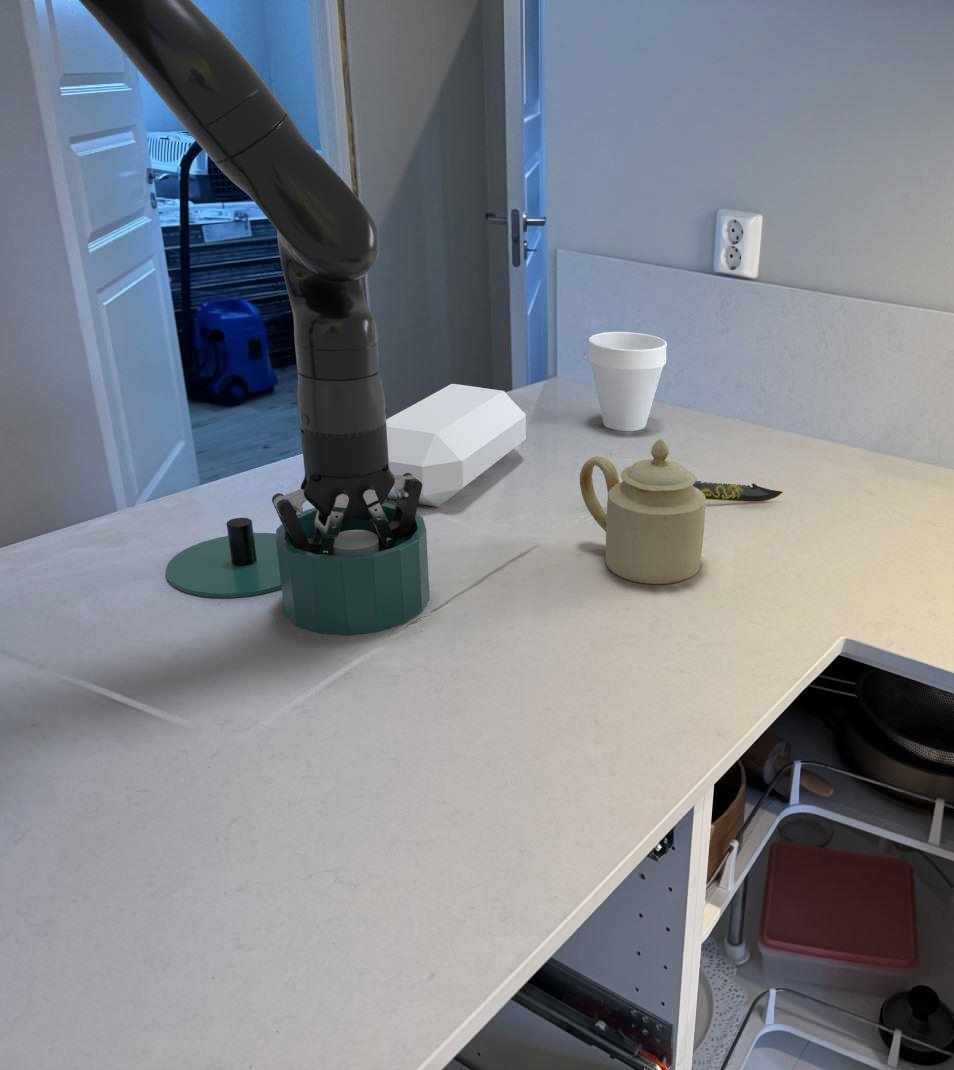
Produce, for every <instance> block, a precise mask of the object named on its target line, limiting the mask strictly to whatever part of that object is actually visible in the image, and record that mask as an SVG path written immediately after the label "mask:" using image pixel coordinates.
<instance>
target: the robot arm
mask: <svg viewBox="0 0 954 1070" xmlns="http://www.w3.org/2000/svg"><path fill="white" fill-rule="evenodd" d="M78 1H79V3H80V4H81V5H82V6H83V7H84V8H85V9H86V10H87V11H88V12H89V14H91V16H92V17H93V18H94V19H95V20H96V21H97V22H98V24H99V25H100V26H101V27H102V28H103V30H104V31H105V32H106V33H107V34H108V36H110V38H111V39H112V40H113V41H114V42H115V44H116V45H117V46H118V48H120V50H121V51H122V52H123V53H124V55H125V56H126V57H127V58H128V60H129V61H130V62H131V63H132V64H133V66H134V67H135V68H136V69H137V70H138V72H139V73H140V74H141V76H142V77H143V78H144V80H146V82H147V83H148V84H149V86H150V87H151V88H152V89H153V90H154V92H155V93H156V94H157V96H158V97H159V98H160V99H161V100H162V102H163V103H164V104H165V106H167V108H168V109H169V110H170V112H171V113H172V114H173V115H174V117H176V119H177V120H178V121H179V122H180V124H181V126H183V127H184V128H185V129H186V131H187V132H188V134H190V136H191V137H192V138H193V139H194V140H195V142H196V143H197V145H199V146H200V148H201V149H202V150H203V151H204V152H205V153H206V155H207V156H208V157H209V158H210V160H211V161H212V162H214V164H215V165H216V167H217V168H218V169H219V170H220V171H221V172H222V174H224V175H225V176H226V177H227V178H228V179H229V180H230V181H231V182H232V183H233V184H234V185H235V186H237V187H238V188H239V189H240V190H242V191H243V192H244V193H245V194H246V195H248V197H250V198H251V200H252V201H253V202H254V203H255V205H256V206H257V207H258V209H259V210H260V211H261V213H262V214H263V215H264V216H265V217H266V218H267V220H268V221H269V222H270V223H271V225H272V226H273V227H274V229H275V230H276V234H277V235H276V236H277V245H278V252H279V258H280V265H281V268H282V273H283V278H284V282H285V286H286V287H285V288H286V291H287V295H288V298H289V301H290V303H289V304H290V306H291V307H290V308H291V311H292V318H293V337H294V350H295V360H296V369H297V393H296V397H297V410H298V418H299V429H300V439H301V449H302V456H303V457H302V459H303V460H302V461H303V469H304V476H303V480H302V482H301V484H300V488H299V489H296V490H294V491H292V492H289V493H287V494H283V493H280V492H279V493H275V494H274V495H272V497H271V502H272V505H273V507H274V509H275V511H276V514H277V516H278V518H279V520H280V522H281V524H282V525H283V527H284V529H285V531H286V533H287V536H288V538H289V540H290V542H291V544H292V546H294V547H295V548H297V549H300V550H304V551H307V552H310V553H314V554H320V555H331V553H332V549H333V546H334V542H335V538H336V537H338V535H339V531H340V528H341V524H346V523H349V522H351V521H353V520H368V521H369V523H370V526H371V528H372V530H373V532H374V533H375V534H376V535H377V536H378V539H379V551H383V550H387V549H390V548H394V543H395V541H396V540H397V539H399V538H401V537H408V536H409V535H411V533H412V530H413V525H414V521H415V516H416V514H417V512H418V508H419V504H418V503H419V499H420V494H421V490H422V483H421V482H420V481H419V480H418V479H417V478H415V477H414V476H413V475H412V474H411V473H405V474H403V476H400V475H393V474H392V473H391V471H390V469H389V459H388V443H387V427H386V419H387V414H388V409H387V404H386V397H385V389H384V386H383V381H382V376H381V365H380V351H379V336H378V329H377V323H376V319H375V315H374V314H373V312H372V310H371V309H370V307H369V305H368V303H367V300H366V297H365V290H364V289H365V288H364V282H363V277H364V276H366V275H367V274H368V273H369V272H370V271H371V270H372V269H373V268H374V267H375V265H376V263H377V262H378V259H379V256H380V250H381V239H380V232H379V229H378V227H377V224H376V222H375V220H374V218H373V217H372V215H371V213H370V212H369V210H368V209H367V207H366V206H365V205H364V203H363V202H362V201H361V199H360V198H359V197H358V196H357V195H356V193H354V191H353V190H352V189H351V188H350V186H349V185H348V184H347V183H346V182H345V181H344V180H343V179H342V178H341V176H340V175H339V174H338V173H337V172H336V171H335V170H334V168H332V166H330V165H329V163H328V162H327V161H326V160H325V158H323V157H322V156H321V154H319V153H318V152H317V150H315V148H314V147H313V146H312V145H311V144H310V143H309V141H308V140H307V139H306V138H305V136H304V135H303V134H302V131H300V128H299V127H298V126H297V125H296V123H295V122H294V120H293V119H292V117H291V116H290V114H289V113H288V112H287V111H286V108H285V107H284V106H283V105H282V103H281V102H280V101H279V99H278V98H277V97H276V96H275V94H274V93H273V92H272V91H271V89H270V88H269V87H268V85H267V83H266V82H265V81H264V80H263V79H262V77H261V76H260V74H259V73H258V72H257V70H256V69H255V67H253V65H252V64H251V63H250V62H249V61H248V59H247V58H246V57H245V56H244V54H243V53H242V52H241V51H240V50H239V48H238V47H236V46H235V44H234V43H233V42H232V41H231V40H230V38H228V37H227V36H226V35H225V33H224V32H223V31H222V30H221V29H220V28H219V27H218V26H217V25H216V24H215V23H214V22H213V21H212V20H211V19H210V18H209V17H208V16H207V14H206V13H204V12H203V10H202V9H200V8H199V7H198V6H197V5H196V4H195V3H194V1H192V0H78ZM393 486H394V492H395V494H396V495H398V496H397V500H395V501H396V502H395V504H394V505H395V509H394V514H393V519H392V523H390V524H389V523H388V520H387V518H386V516H385V514H384V512H383V509H382V507H381V505H382V504H383V503H385V500H386V497H387V496H388V494H389V492H390V491H391V489H392V488H393ZM306 501H307V502H308V503H310V504H311V506H313V508H316V509H317V514H316V518H315V530H314V534H313V537H312V539H309V538H307V537H306V535H305V533H304V531H303V528H302V526H301V524H300V522H299V519H298V516H300V515H301V514H302V512H303V511H304V509H303V505H304V503H305V502H306Z"/></svg>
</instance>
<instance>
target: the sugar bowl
mask: <svg viewBox="0 0 954 1070" xmlns="http://www.w3.org/2000/svg"><path fill="white" fill-rule="evenodd" d="M669 453H670V449H669V447H668V444H667V442H666V441H664V439H662V438H660V439H657V440H656V441H655V442H654V444H653V445H652V447H651V450H650V454H651V456H652V458H649V459H648V458H647V459H642V460H639V461H636V462H634V463H633V464H632V465H629V466H627V467H625V468H624V469H623V470H621V472H620V479H622V481H621V482H620V479H619V474H618V471H617V468H616V466H615V464H614V463H613V462H612V461H611V460H610V459H609V458H607V457H604V456H599V455H598V456H593V457H591V458H589V459H588V460H587V461H585V462H584V464H583V466H582V467H581V470H580V473H579V487H580V492H581V497H582V500H583V502H584V505H585V506H586V508H587V510H588V512H589V514H590V515H591V517H592V518H593V519H594V521H595V522H596V523H597V524H598V525H599V526H600V527H601V528H602V530H603V531H604V532H605V564H606V566H607V569H609V571H610V572H612V573H613V574H615V575H616V576H617V577H620V578H622V579H624V580H627V581H631V582H634V583H640V584H648V585H667V584H674V583H679V582H682V581H685V580H688V579H690V578H692V577H693V576H696V574H697V573H698V572H699V570H700V567H701V562H702V561H701V560H702V554H703V553H702V552H703V543H704V536H705V535H704V534H705V523H706V509H707V508H706V507H707V500H706V497H705V495H704V494H703V493H702V491H700V490H699V489H697V488H696V487H694V486H693V484H694V483H695V482H696V481H698V480H697V479H698V478H697V476H696V475H695V474H694V473H693V472H692V471H690V470H688V469H687V468H686V467H685V466H684V465H683V464H681V463H678V462H676V461H674V460H670V459H667V458H668V456H669V455H670V454H669ZM594 467H597V468H599V469H600V470H601V472H602V474H603V476H604V480H605V485H606V491H607V500H606V501H607V502H606V511H605V510H604V508H603V506H602V505H601V503H600V501H599V499H598V498H597V495H596V492H595V488H594V481H593V473H594Z"/></svg>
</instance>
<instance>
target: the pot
mask: <svg viewBox="0 0 954 1070" xmlns="http://www.w3.org/2000/svg"><path fill="white" fill-rule="evenodd" d="M395 505H396V504H392V503H386V502H383V504H382V505H381V507H382V509H383V512H384V514H385V516H386V518H387V520H388V523H389V524H390V523H392V519H393V514H394V509H395ZM316 514H317V509H316V508H315V507H312V508H309V509H306V510H303V512H302V514H301V515H300V516H298V519H299V522H300V524H301V526H302V528H303V531H304V533H305V535H306V537H307V538H309V539H312V537H313V534H314V530H315V518H316ZM349 530H365V531H370V532H373V530H372V528H371V526H370V523H369V521H368V520H353V521H351V522H349V523H346V524H341V528H340V531H339V532H343V531H349ZM275 531H276V532H275V534H276V544H277V553H278V562H279V570H280V579H281V588H282V589H281V596H282V605H283V613H284V617H286V618H287V619H288V620H289V621H290V622H292V623H293V625H294V626H296V627H297V628H300V629H304V630H307V631H309V632H312V633H315V634H319V635H329V636H343V637H344V636H346V637H349V636H356V635H358V636H359V635H366V634H375V633H380V632H383V631H387V630H390V629H393V628H396V627H399V626H402V625H404V624H406V623H408V622H410V621H411V620H412V619H414V618H416V617H417V616H419V615H420V614H422V613H423V612H424V610H425V608H426V607H427V605H428V603H429V602H430V600H431V599H430V581H429V580H430V579H429V559H428V558H429V557H428V535H427V527H426V523H425V520H424V518H423V516H421V515H420V514H418V513H416V516H415V521H414V525H413V530H412V533H411V535H409V536H408V537H401V538H399V539H397V540H396V541H395V543H394V548H390V549H387V550H383V551H379V552H375V553H371V554H363V555H352V556H333V555H320V554H314V553H310V552H307V551H304V550H300V549H297V548H295V547H294V546H292V544H291V542H290V540H289V538H288V536H287V533H286V531H285V529H284V527H283V525H282V523H281V524H280V525H279V526H278V527H277V528H276V530H275ZM373 533H374V532H373ZM418 620H419V618H416V620H414V621H413V622H411V623H410V624H408V625H406V626H405V628H406V627H408V626H410V625H412V624H414V623H415V622H417V621H418Z"/></svg>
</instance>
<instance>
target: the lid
mask: <svg viewBox="0 0 954 1070" xmlns="http://www.w3.org/2000/svg"><path fill="white" fill-rule="evenodd" d="M226 531H227V535H225V536H219V537H216V538H211V539H208V540H204V541H202V542H199V543H196V544H193V545H191V546H189V547H187V548H185V549H183V550H182V551H180V552H179V553H177V554H175V555H174V556H173V557H172V558H171V559H170V560H169V562H168V563H167V565H166V567H165V575H166V579H167V581H168V582H169V584H170V586H172V587H173V588H175V589H177V590H178V591H180V592H184V593H185V594H190V595H193V596H198V597H203V598H217V599H231V598H246V597H253V596H259V595H265V594H269V593H273V592H275V591H280V590H282V588H281V579H280V570H279V562H278V553H277V544H276V532H275V533H274V532H272V533H271V532H254V525H253V520H252V518H249V517H235V518H231V519H229V520H228V521H226Z"/></svg>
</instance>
